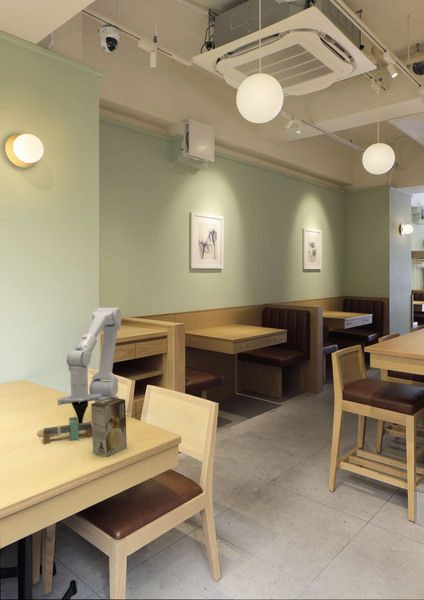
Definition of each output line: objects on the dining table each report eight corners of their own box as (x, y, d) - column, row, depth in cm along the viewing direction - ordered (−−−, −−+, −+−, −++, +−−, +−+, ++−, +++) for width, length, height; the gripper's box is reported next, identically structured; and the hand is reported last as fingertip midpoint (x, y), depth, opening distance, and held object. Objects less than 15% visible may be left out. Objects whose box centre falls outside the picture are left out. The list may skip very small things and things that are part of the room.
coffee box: (113, 443, 144) (112, 396, 144) (127, 447, 141) (126, 399, 140) (92, 453, 137) (90, 403, 136) (106, 457, 133) (105, 406, 132)
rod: (91, 432, 155) (90, 420, 155) (92, 436, 151) (92, 424, 151) (43, 438, 149) (43, 426, 149) (43, 443, 145) (43, 431, 144)
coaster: (62, 426, 161) (62, 425, 161) (64, 434, 153) (64, 433, 153) (36, 430, 158) (36, 429, 158) (37, 438, 149) (37, 437, 149)
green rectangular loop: (76, 433, 154) (76, 416, 154) (78, 438, 149) (77, 421, 148) (69, 434, 153) (69, 417, 153) (71, 439, 148) (70, 422, 147)
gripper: (58, 389, 144) (59, 429, 145) (102, 384, 150) (103, 423, 151) (56, 384, 151) (57, 422, 151) (99, 380, 156) (100, 417, 157)
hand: (80, 422), depth 151 cm, fingers closed
